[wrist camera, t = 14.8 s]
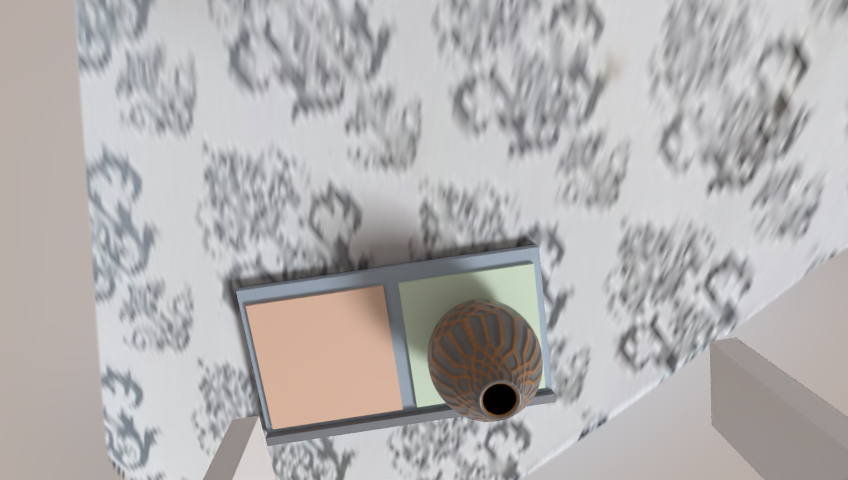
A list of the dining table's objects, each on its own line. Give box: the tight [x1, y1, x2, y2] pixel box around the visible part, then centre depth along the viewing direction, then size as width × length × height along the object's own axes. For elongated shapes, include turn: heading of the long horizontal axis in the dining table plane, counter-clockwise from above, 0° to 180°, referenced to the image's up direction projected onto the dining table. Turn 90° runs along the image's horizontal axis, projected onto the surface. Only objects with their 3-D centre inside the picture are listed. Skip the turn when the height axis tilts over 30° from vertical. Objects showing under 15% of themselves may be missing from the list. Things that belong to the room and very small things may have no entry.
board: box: [236, 244, 555, 446], centre depth 38 cm, size 11×20×1 cm, turn 98°
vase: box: [427, 299, 543, 422], centre depth 33 cm, size 7×7×9 cm
